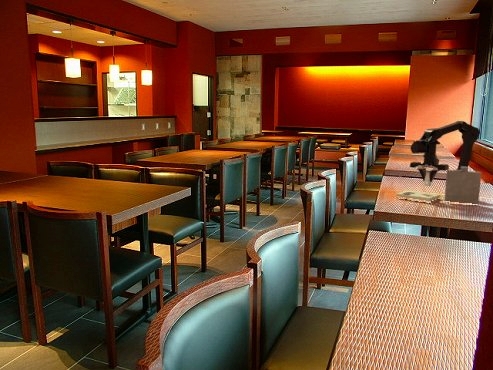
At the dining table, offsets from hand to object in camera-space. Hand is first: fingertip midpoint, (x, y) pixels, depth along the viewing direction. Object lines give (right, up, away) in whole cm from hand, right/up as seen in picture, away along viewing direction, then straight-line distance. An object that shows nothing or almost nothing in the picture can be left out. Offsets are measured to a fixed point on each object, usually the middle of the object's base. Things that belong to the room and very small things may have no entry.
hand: (427, 181), depth 227 cm
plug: (0, -2, 0) cm, 2 cm away
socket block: (-3, -10, +5) cm, 11 cm away
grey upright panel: (+14, -12, -7) cm, 20 cm away
